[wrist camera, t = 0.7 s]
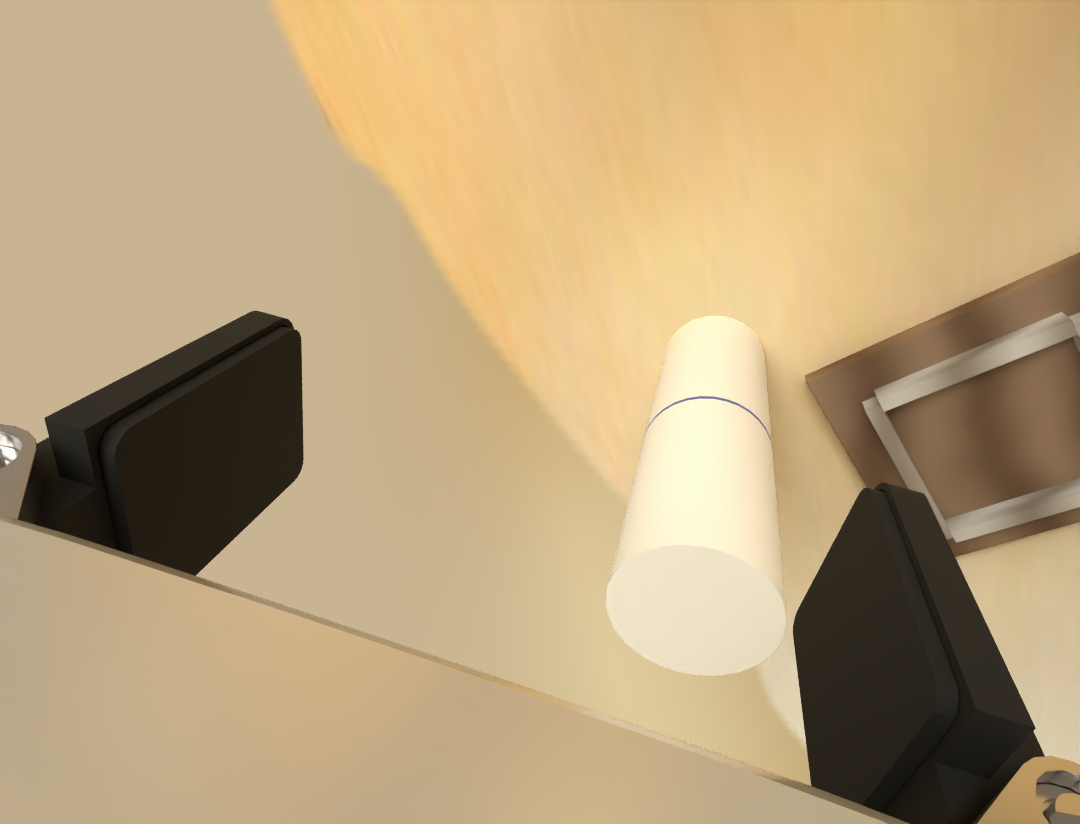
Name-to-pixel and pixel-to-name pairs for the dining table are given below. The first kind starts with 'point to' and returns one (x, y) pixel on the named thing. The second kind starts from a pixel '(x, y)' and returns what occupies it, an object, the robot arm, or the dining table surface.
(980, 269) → the dining table surface
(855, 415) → the mount board
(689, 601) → the cylindrical container
